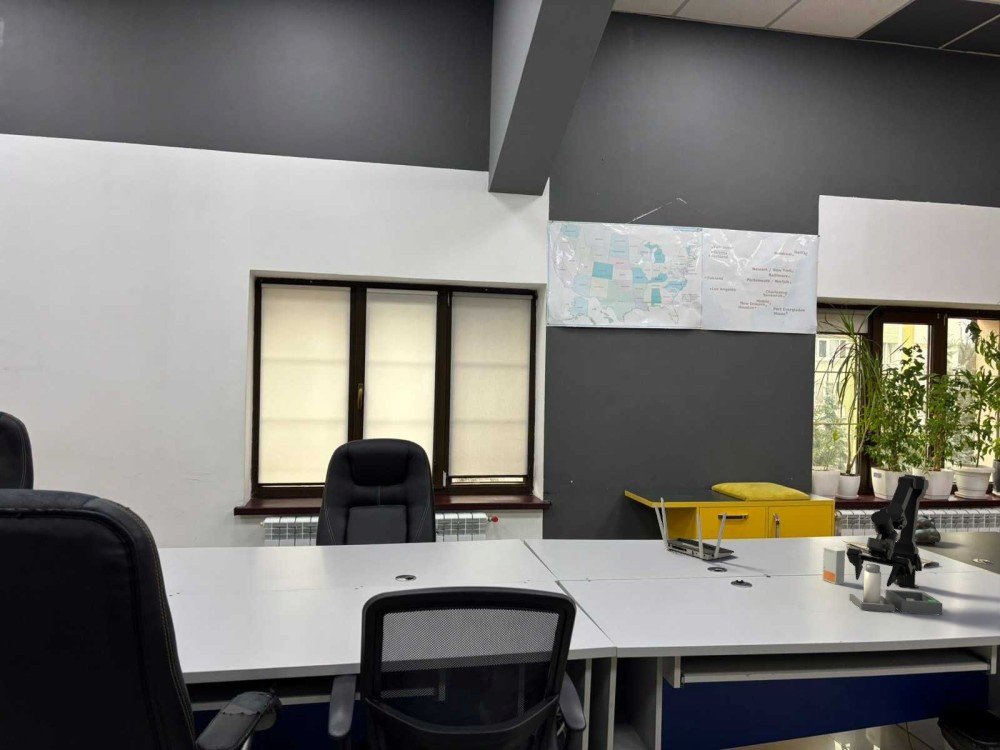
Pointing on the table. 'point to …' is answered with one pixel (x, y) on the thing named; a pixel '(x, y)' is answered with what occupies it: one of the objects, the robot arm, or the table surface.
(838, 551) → the skincare box
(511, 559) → the table surface
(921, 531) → the grey rock
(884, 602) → the grey u-shaped rail
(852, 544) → the newspaper
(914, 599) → the dock
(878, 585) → the plug
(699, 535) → the wireless router
